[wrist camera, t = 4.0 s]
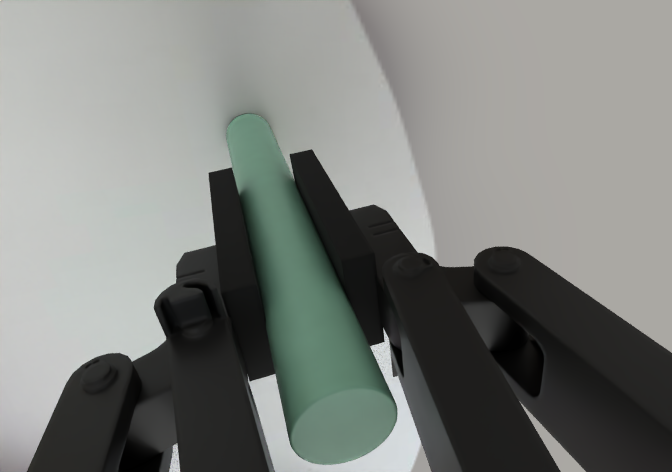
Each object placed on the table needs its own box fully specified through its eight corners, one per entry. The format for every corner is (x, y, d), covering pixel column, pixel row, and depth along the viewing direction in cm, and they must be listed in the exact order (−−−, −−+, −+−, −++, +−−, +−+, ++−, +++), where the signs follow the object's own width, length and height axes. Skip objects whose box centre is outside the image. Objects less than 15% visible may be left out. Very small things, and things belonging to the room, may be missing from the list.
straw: (220, 118, 21) (279, 409, 8) (266, 109, 22) (394, 373, 8) (232, 161, 23) (300, 478, 9) (275, 151, 23) (402, 445, 10)
